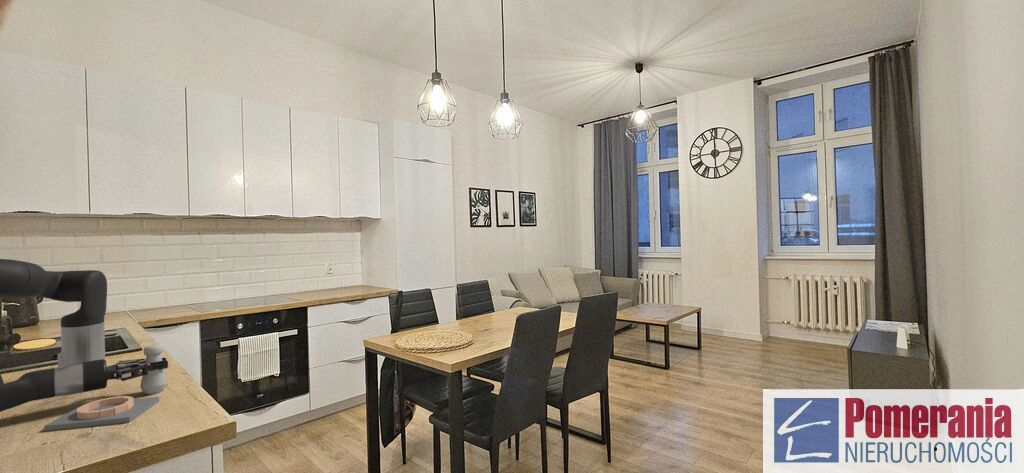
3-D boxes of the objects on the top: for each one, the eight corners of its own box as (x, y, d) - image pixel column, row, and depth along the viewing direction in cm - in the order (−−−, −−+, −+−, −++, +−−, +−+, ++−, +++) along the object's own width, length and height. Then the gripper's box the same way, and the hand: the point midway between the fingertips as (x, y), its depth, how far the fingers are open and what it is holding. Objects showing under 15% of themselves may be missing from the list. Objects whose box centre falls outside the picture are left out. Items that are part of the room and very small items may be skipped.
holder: (44, 431, 97) (44, 419, 97) (84, 408, 110) (84, 397, 110) (129, 422, 101) (129, 410, 101) (159, 401, 114) (158, 391, 114)
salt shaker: (151, 396, 118) (151, 348, 117) (134, 395, 119) (133, 347, 118) (172, 388, 123) (171, 343, 123) (156, 387, 124) (155, 342, 124)
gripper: (80, 368, 106) (170, 354, 118) (80, 357, 116) (163, 344, 128) (81, 399, 106) (171, 381, 118) (81, 385, 116) (163, 370, 128)
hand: (166, 362), depth 123 cm, fingers closed on salt shaker, 3 cm apart
